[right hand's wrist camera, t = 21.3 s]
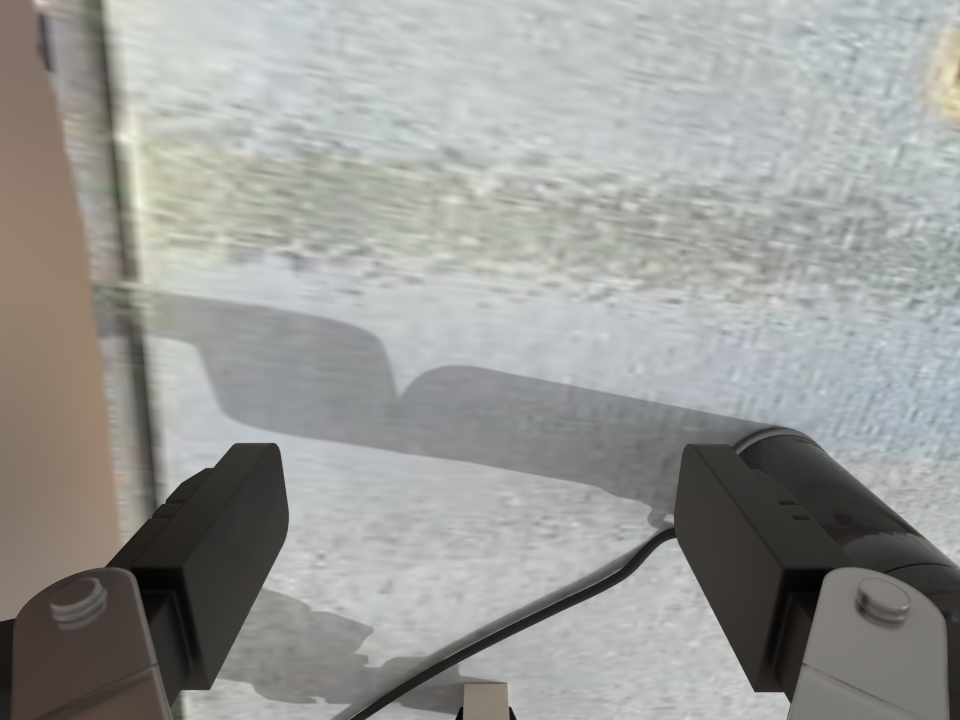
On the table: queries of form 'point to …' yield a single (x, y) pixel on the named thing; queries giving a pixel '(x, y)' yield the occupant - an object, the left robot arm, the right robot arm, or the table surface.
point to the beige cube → (486, 702)
